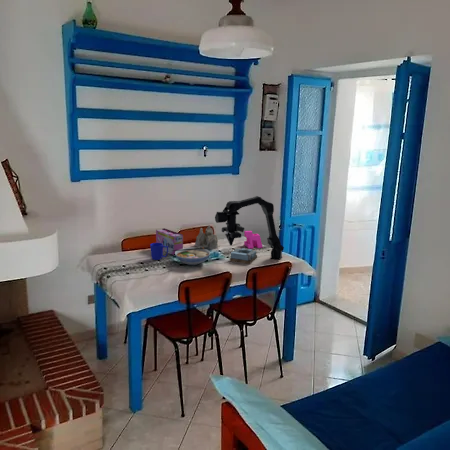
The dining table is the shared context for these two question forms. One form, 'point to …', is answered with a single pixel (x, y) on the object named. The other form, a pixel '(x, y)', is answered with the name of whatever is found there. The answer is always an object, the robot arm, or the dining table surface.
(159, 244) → the mug
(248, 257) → the folding leg
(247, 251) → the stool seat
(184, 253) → the ramen bowl
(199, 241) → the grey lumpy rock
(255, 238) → the magenta blocky figure
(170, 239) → the gum box
